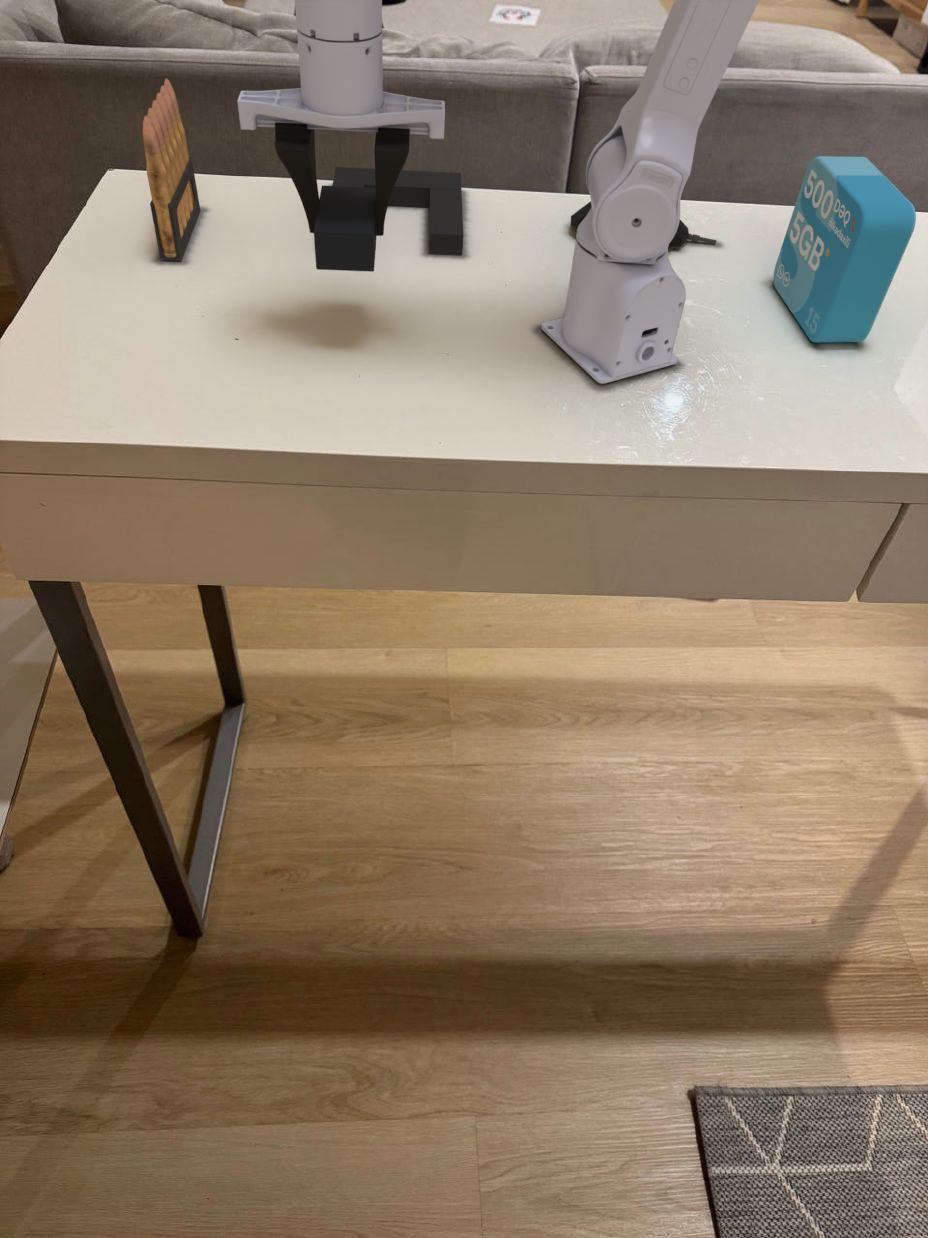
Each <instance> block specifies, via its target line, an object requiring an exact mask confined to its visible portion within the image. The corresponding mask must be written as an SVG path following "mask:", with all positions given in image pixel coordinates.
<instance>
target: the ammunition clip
mask: <svg viewBox="0 0 928 1238" xmlns="http://www.w3.org/2000/svg"><path fill="white" fill-rule="evenodd" d="M176 96H177V95H176V93H175V90H174V88H173V85H172V84H171V81H170V80H169V78H164V82H163V85H161V87H160V89H159V92H157V93H156V97H155V99H153V100H152V104H151V107H149V108H148V111H147V114H146V115H144V117H143V121H142V141H143V147H144V154H145V160H146V161H145V162H146V175H147V181H148V185H149V191H150V196H151V200H150V203H149V206H150V211H151V217H152V221H153V227H154V233H155V237H156V244H157V248H158V255H159V259H160V261H163V262H164V261H166V262H182V260H183V258H184V256H185V253H186V251H187V248H188V245H189V243H190V239H191V237H192V235H193V232H194V229H195V226H196V224H197V222H198V219H199V217H200V213H201V206H200V205H201V204H200V200H199V194H198V188H197V183H196V175H195V170H194V165H193V157H190V155H189V148H188V143H187V142H188V141H187V138H186V137H187V136H186V132H185V128H184V126H183V121H182V119H181V118H182V117H181V113H180V109H179V104H178V100H177V97H176Z"/></svg>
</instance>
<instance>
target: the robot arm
mask: <svg viewBox="0 0 928 1238" xmlns="http://www.w3.org/2000/svg"><path fill="white" fill-rule="evenodd" d="M759 2H760V0H674V1H673V3H672V5H671V8H670V10H669V13H668V15H667V18H666V20H665V22H664V25H663V27H662V30H661V32H660V35H659V37H658V39H657V42H656V44H655V47H654V49H653V52H652V54H651V56H650V59H649V61H648V64H647V66H646V68H645V70H644V74H643V75H642V78H641V81H640V82H639V84H638V88H637V90H636V92H635V93H634V94H633V95H632V96H631V98H629V100H627V102H626V103H625V104H624V105H623V106H622V108H621V110H620V113H619V115H618V118H617V119H616V121H615V124H614V126H613V127H612V129H611V130H610V131H609V133H608V134H606V135H605V136H604V137H603V138H602V139H601V140H600V141H599V142H598V143H597V144H596V145H595V146H594V148H593V150H592V151H591V153H590V154H589V157H588V160H587V162H586V166H585V174H584V175H585V177H584V178H585V184H586V188H587V192H588V193H589V198H590V201H591V205H592V208H591V209H590V211H589V213H588V214H587V216H586V217H585V218H584V220H583V221H582V222H581V223H580V224H579V226H578V228H577V231H576V236H575V240H574V241H575V243H574V250H573V255H572V263H571V269H570V275H569V281H568V288H567V293H566V302H565V307H564V314H563V317H561V318H560V317H559V318H556V319H553V320H548V321H543V322H542V323H541V330H542V331H543V332H544V333H545V334H546V335H547V336H548V337H549V338H550V339H551V340H553V342H554V343H556V345H557V346H559V347H560V348H561V350H563V351H564V352H565V353H566V354H567V355H568V356H569V357H571V359H572V360H574V362H576V364H578V365H579V366H580V367H581V368H582V369H583V370H584V371H585V372H586V373H587V374H588V375H589V376H590V377H592V378H593V380H595V381H596V382H597V383H599V384H601V385H602V384H603V385H605V384H607V383H608V384H609V383H611V382H615V381H619V380H622V379H627V378H629V377H634V376H637V375H641V374H644V373H648V372H652V371H655V370H659V369H663V368H666V367H670V366H674V365H676V364H677V363H678V360H679V359H678V357H677V356H676V355H675V354H674V353H673V351H674V346H675V342H676V338H677V335H678V330H679V328H680V327H679V326H680V323H681V320H682V315H683V312H684V308H685V303H686V296H687V292H686V286H685V284H684V282H683V280H682V279H681V277H680V276H679V275H678V274H677V273H676V271H675V270H674V268H673V266H672V263H671V260H670V257H669V249H668V245H669V243H670V242H671V240H672V239H673V237H674V235H675V233H676V231H677V229H678V226H679V222H680V220H681V200H682V196H683V195H682V194H683V192H684V189H685V186H686V184H687V182H688V180H689V178H690V176H691V173H692V168H693V163H694V156H695V151H696V144H697V139H698V133H699V129H700V126H701V124H702V122H703V120H704V118H705V116H706V114H707V112H708V109H709V107H710V105H711V103H712V101H713V98H714V97H715V94H716V93H717V91H718V88H719V86H720V84H721V82H722V80H723V77H724V75H725V73H726V72H727V69H728V67H729V65H730V63H731V60H732V59H733V56H734V54H735V53H736V50H737V48H738V46H739V44H740V42H741V40H742V38H743V35H744V33H745V31H746V29H747V27H748V25H749V22H750V21H751V18H752V16H753V14H754V13H755V9H756V7H757V6H758V4H759ZM294 10H295V11H294V12H295V25H296V35H297V50H298V63H299V77H300V78H299V79H300V87H296V88H284V89H271V90H269V89H268V90H240V92H239V95H238V98H237V100H236V101H237V110H238V118H239V127H240V130H242V131H243V130H244V131H255V130H257V128H274V132H275V133H274V137H275V140H274V143H273V145H274V149H275V152H276V154H277V157H278V158H279V160H280V162H281V163H282V165H283V166H284V168H285V170H286V171H287V174H288V175H289V177H290V178H291V181H292V184H293V185H294V187H295V189H296V191H297V194H298V196H299V199H300V201H301V204H302V207H303V210H304V213H305V216H306V220H307V224H308V230H309V233H310V234H314V227H315V221H316V216H317V211H318V205H319V199H320V193H319V186H318V178H317V163H316V137H315V136H316V135H315V134H316V133H315V132H316V130H318V131H319V130H320V131H339V132H340V131H341V132H359V133H362V132H363V133H375V140H374V147H373V148H374V150H373V151H374V152H373V153H374V169H375V180H376V203H375V217H374V218H375V236H377V237H382V236H384V233H385V232H384V231H385V222H386V216H387V212H388V207H389V205H388V204H389V201H390V197H391V194H392V191H393V189H394V186H395V183H396V181H397V178H398V176H399V174H400V172H401V170H403V168H404V166H405V164H406V162H407V160H408V159H407V158H408V157H409V153H410V139H411V138H410V137H411V136H410V135H425V136H428V137H429V139H434V140H444V139H445V128H446V127H445V126H446V125H445V123H446V102H445V100H439V99H438V100H437V99H428V98H427V99H426V98H422V97H415V96H409V95H403V94H399V93H398V94H397V93H393V92H388V91H384V71H383V70H384V63H383V61H384V59H383V56H384V55H383V54H384V53H383V46H384V45H383V0H294Z"/></svg>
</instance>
